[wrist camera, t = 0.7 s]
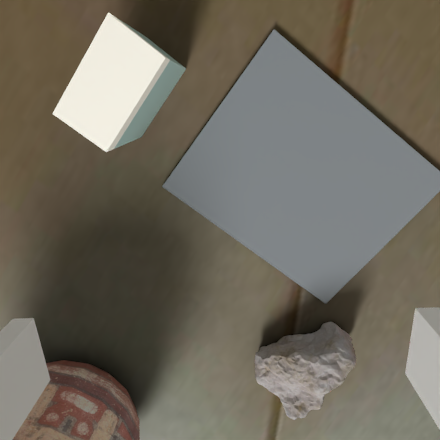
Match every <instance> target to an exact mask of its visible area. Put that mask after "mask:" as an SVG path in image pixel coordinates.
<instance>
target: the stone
mask: <svg viewBox="0 0 440 440" xmlns="http://www.w3.org/2000/svg"><path fill="white" fill-rule="evenodd" d="M351 341H352V338H351V337H350V335H349V334H348V333H347V332H345V331H344V330H342V329H341V328H340V327H339V326H337V324H335V323H333V322H327V323H323V324H322V326H321V328H320V329H319V330H318V331H316V332H314V333H311V334H309V333H308V334H304V335H303V334H297V335H288V336H284V337H282V338H281V339H280V340H279V341H278V342H277V343H272V344H270V345H268V346H263V347H261V348H260V350H259V351H258V352H256V356H255V372H256V380H257V382H258V384H260V385H263V386H264V387H266V388H267V389H268V390H269V391H270V392H272V393H274V394H275V395H277V396H278V397H279V398H280V400H281V402H282V404H283V407H284V409H285V412H286V415H287V416H288V417H289V418H291V419H294V420H295V419H296V418H304V417H305V416H306V415H307V413H308V412H309V411H310V410H312V409H317V410H319V409H320V408H321V406H322V404H323V400H324V395H325V394H326V393H328V392H330V391H331V390H332V389H335V388H337V387H339V386H340V385H341V384H342V383H343V382H344V380H345V378H346V375H347V374H348V372H349V371H350V370H352V369H353V368H354V366H355V363H356V355H355V350H354V348H353V344H352V343H351Z"/></svg>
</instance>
